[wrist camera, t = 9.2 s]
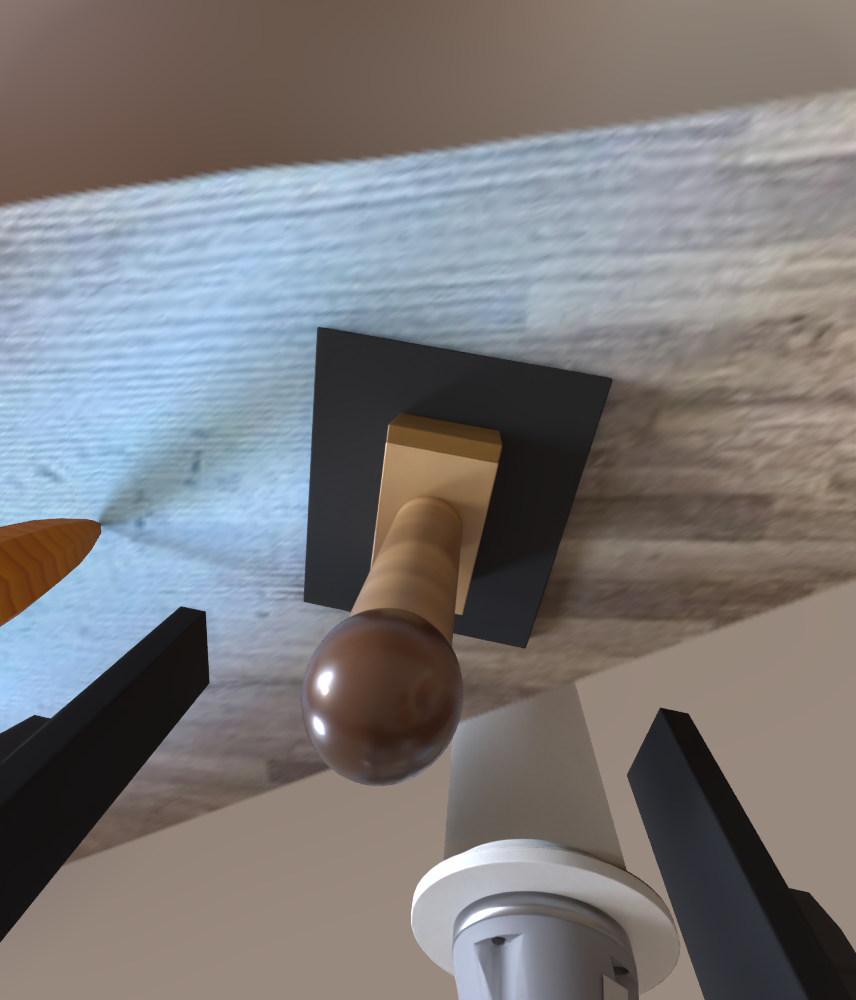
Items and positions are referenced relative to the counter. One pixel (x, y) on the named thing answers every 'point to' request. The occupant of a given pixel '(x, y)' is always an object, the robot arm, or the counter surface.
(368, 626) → the stamp
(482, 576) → the mat
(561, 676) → the counter surface
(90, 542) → the carrot
